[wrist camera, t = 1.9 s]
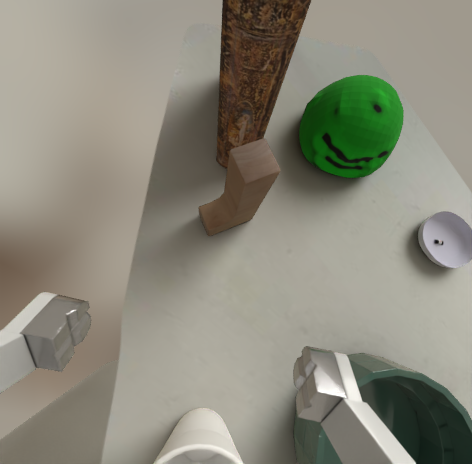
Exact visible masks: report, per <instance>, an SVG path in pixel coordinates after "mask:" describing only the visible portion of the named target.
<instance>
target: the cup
mask: <svg viewBox="0 0 472 464" xmlns="http://www.w3.org/2000/svg"><path fill="white" fill-rule="evenodd" d="M153 464H244V463H243V462H242V460H241V458H240V456H239V453H238V451H237V449H236V447H235V445H234V443H233V440H232V438H231V436H230V434H229V432H228V429H227V427H226V425H225V423H224V421H223V419H222V418H221V416H220V415H219V414H217V413H216V412H215V411H213V410H211V409H207V408H197V409H194V410H191V411H190V412H188V413H186V414H185V415H184V416H183V417H182V418H181V419H180V421H179V422H178V423H177V425H176V427H175V428H174V430H173V432H172V434H171V435H170V437H169V438H168V440H167V442H166V443H165V445H164V447H163V449H162V450H161V452H160V454H159V455H158V457H157V458H156V460H155V462H154V463H153Z"/></svg>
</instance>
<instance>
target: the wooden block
mask: <svg viewBox="0 0 472 464" xmlns="http://www.w3.org/2000/svg"><path fill="white" fill-rule="evenodd" d="M279 173H280V168H279V166H278V164H277V162H276V160H275V158H274V155H273V153H272V151H271V149H270V147H269V145H268V143H267V141H266V139H265V138H263V139H260V140H257V141H254V142H251V143H248V144H245V145H242V146H239V147H236V148H233V149H231V150H230V153H229V161H228V168H227V175H226V182H225V190H224V193H223V194H222V195H221V197H220V198H218V199H216V200H214V201H212V202H210V203H208V204H205V205H202V206H200V207H199V215H200V218H201V220H202V223H203V225H204V228H205V230H206V233H207V235H208V236H211V235H214V234H217V233H219V232H222V231H224V230H227V229H229V228H232V227H234V226H237V225H239V224H242V223H244V222H247V221H249V220H251V219H252V218H253V216H254V215H255V213H256V211H257V210H258V208H259V206H260V204H261V203H262V201H263V199H264V198H265V196H266V194H267V193H268V191H269V189H270V188H271V186H272V184H273V183H274V181H275V180H276V178H277V176H278V175H279Z"/></svg>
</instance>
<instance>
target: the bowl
mask: <svg viewBox="0 0 472 464" xmlns="http://www.w3.org/2000/svg"><path fill="white" fill-rule="evenodd" d="M347 357H348V359H349V362H350V365H351V368H352V371H353V374H354V377H355V380H356V383H357V386H358V389H359V392H360V395H361V398H362V401H363V402H365V403H367V404H368V405H369V406H370V407H371V409H372V410H373V411H374V412H375V414H376V415H377V416H378V417H379V418H380V420H381V421H382V422H383V423H384V425H385V426H386V427H387V428H388V429H389V431H390V432H391V433H392V434H393V436H394V437H395V438H396V439H397V440H398V442H399V443H400V444H401V445H402V447H403V448H404V449H405V450H406V451H407V453H408V454H409V455H410V456H411V458H412V459H413V460H414V461H415V462H416V464H472V420H471V418H470V416H469V414H468V412H467V410H466V409H465V408H464V407H463V406H462V405H461V404H460V403H459V401H458V400H457V399H456V398H455V397H454V396H453V395H452V394H451V393H450V392H449V391H448V389H447V388H445V387H444V386H442V385H440V384H439V383H437V382H435V381H434V380H432V379H430V378H429V377H427V376H425V375H424V374H422V373H419V372H417V371H414V370H412V369H410V368H407V367H405V366H402V365H400V364H397V363H395V362H392V361H390V360H388V359H385V358H383V357H378V356H374V355H369V354H365V353H359V354H351V355H347ZM293 434H294V442H295V450H296V458H297V462H298V464H343V463H342V462H341V460H340V458H339V456H338V454H337V453H336V451H335V449H334V447H333V445H332V444H331V442H330V440H329V438H328V436H327V435H326V433H325V431H324V429H323V427H322V426H321V422H316V421H312V420H307V419H303V418H298V414H297V410H296V417H295V424H294V431H293Z"/></svg>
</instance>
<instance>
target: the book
mask: <svg viewBox="0 0 472 464" xmlns="http://www.w3.org/2000/svg"><path fill="white" fill-rule="evenodd" d="M310 3H311V0H223V8H222V32H221V57H220V82H219V106H218V131H217V156H216V160H217V162H218V163H219V164H220V165H221V166H223V167H224V168H226V169H227V168H228V161H229V153H230V150H231V149H233V148H236V147H239V146H242V145H245V144H248V143H251V142H254V141H257V140H260V139H263V137H264V134H265V131H266V128H267V126H268V123H269V120H270V117H271V114H272V111H273V108H274V106H275V103H276V100H277V97H278V94H279V91H280V88H281V86H282V83H283V80H284V77H285V74H286V71H287V68H288V66H289V63H290V60H291V57H292V54H293V51H294V48H295V45H296V43H297V40H298V37H299V34H300V31H301V28H302V25H303V22H304V20H305V17H306V14H307V11H308V8H309V5H310Z"/></svg>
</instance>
